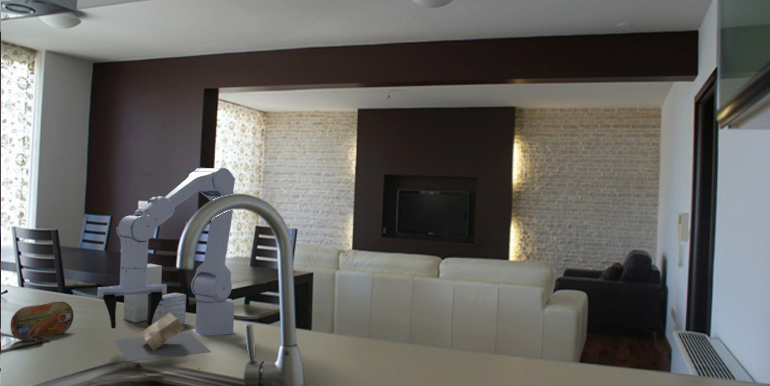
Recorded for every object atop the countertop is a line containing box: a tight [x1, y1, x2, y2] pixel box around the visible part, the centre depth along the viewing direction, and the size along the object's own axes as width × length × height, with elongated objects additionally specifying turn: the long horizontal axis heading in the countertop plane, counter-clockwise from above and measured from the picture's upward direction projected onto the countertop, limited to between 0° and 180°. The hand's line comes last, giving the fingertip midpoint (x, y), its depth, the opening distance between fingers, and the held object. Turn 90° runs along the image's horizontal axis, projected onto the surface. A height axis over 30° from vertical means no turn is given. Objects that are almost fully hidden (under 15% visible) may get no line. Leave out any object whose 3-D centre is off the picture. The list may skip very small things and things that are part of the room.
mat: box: [114, 332, 212, 362], centre depth 133 cm, size 18×20×1 cm
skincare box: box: [123, 263, 163, 323], centre depth 163 cm, size 8×7×16 cm
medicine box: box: [152, 292, 187, 326], centre depth 155 cm, size 8×4×9 cm, turn 154°
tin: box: [10, 301, 74, 342], centre depth 139 cm, size 15×3×8 cm, turn 157°
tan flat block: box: [140, 312, 185, 351], centre depth 133 cm, size 3×8×8 cm
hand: (131, 326), depth 130 cm, fingers open, 7 cm apart
